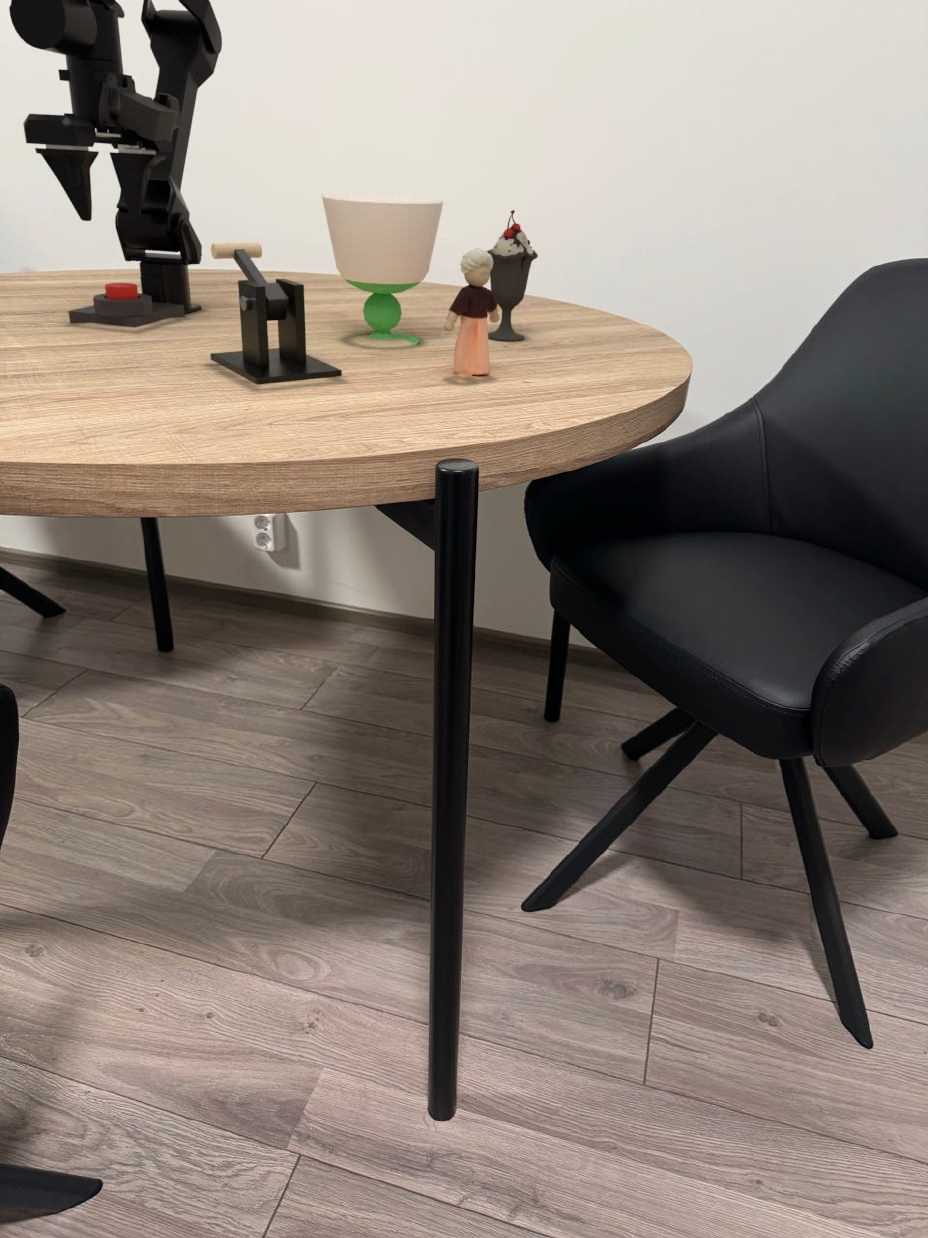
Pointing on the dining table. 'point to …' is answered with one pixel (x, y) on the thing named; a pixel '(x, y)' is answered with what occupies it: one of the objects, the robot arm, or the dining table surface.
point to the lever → (254, 275)
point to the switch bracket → (256, 355)
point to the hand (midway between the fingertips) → (111, 219)
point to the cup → (382, 249)
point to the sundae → (510, 276)
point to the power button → (121, 291)
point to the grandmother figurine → (473, 315)
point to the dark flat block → (125, 311)
